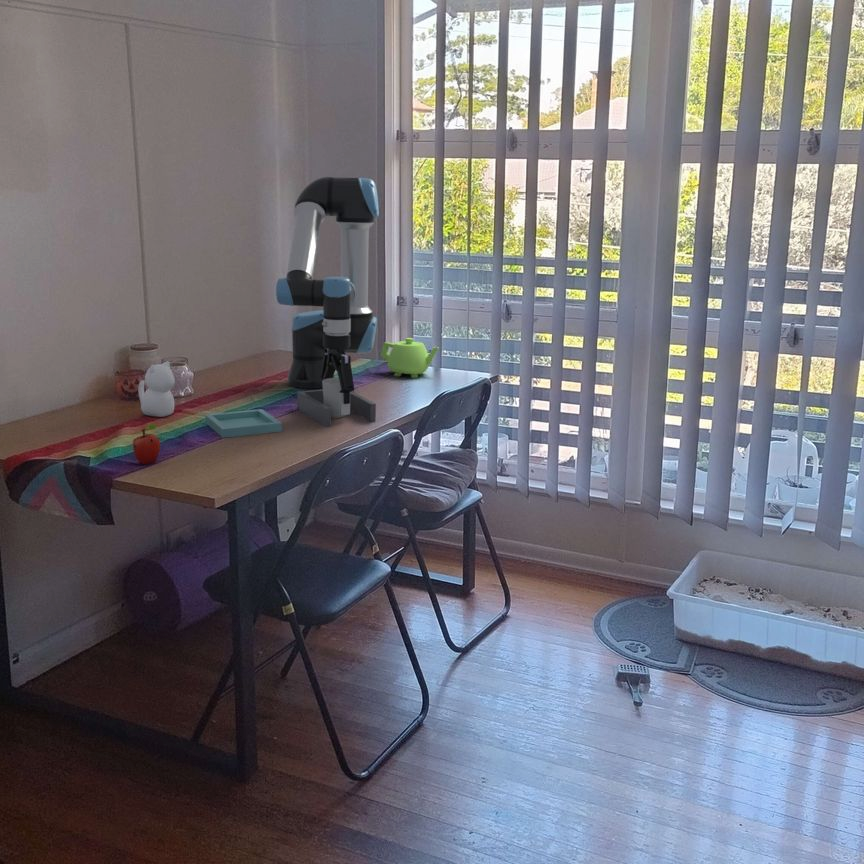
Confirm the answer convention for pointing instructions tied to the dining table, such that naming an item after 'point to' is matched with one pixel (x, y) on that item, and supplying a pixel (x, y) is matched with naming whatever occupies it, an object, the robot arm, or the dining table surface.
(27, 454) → the dining table surface
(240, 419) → the tray
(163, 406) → the cat figurine
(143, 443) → the apple
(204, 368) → the dining table surface
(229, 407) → the dining table surface
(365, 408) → the bay
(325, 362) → the robot arm
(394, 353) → the teapot
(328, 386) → the cup
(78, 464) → the dining table surface
